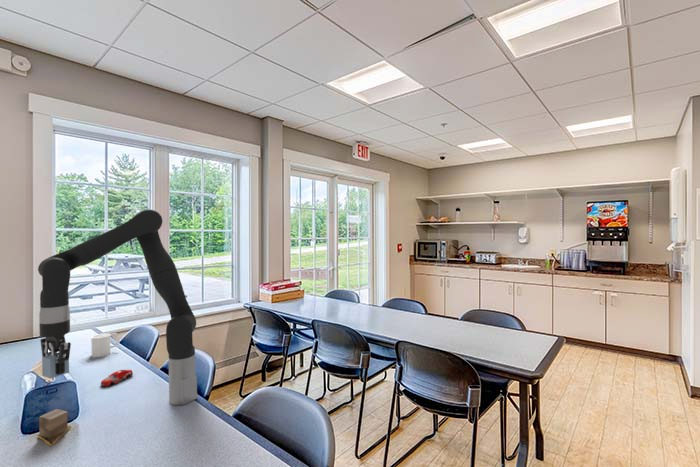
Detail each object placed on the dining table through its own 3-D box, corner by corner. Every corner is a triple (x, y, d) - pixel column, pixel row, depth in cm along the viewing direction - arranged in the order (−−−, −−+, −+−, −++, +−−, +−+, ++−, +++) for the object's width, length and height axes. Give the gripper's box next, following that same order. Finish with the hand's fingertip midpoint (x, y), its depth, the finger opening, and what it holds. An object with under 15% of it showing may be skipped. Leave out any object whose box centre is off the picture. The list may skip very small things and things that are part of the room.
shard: (52, 448, 106) (51, 443, 106) (22, 452, 105) (22, 446, 105) (72, 429, 117) (72, 423, 117) (46, 431, 115) (46, 426, 115)
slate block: (69, 372, 113) (68, 354, 113) (50, 378, 109) (50, 359, 109) (61, 369, 116) (60, 351, 116) (42, 375, 111) (42, 356, 111)
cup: (120, 352, 188) (119, 334, 188) (92, 358, 180) (92, 339, 180) (117, 349, 194) (117, 331, 194) (90, 354, 186) (90, 335, 186)
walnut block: (67, 429, 113) (67, 411, 113) (50, 438, 109) (50, 419, 108) (57, 426, 115) (57, 408, 115) (39, 435, 110) (39, 416, 110)
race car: (106, 389, 146) (106, 379, 146) (97, 387, 148) (97, 377, 147) (135, 376, 158) (135, 367, 158) (126, 374, 160) (126, 366, 160)
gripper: (80, 319, 112) (81, 372, 112) (57, 314, 119) (58, 364, 119) (52, 325, 106) (52, 381, 106) (29, 319, 112) (30, 372, 112)
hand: (55, 371), depth 112 cm, fingers closed on slate block, 5 cm apart
